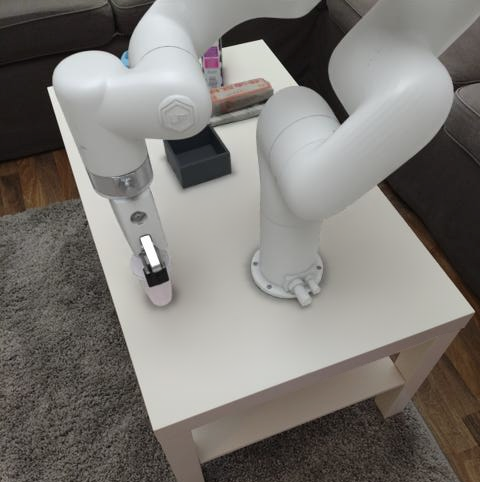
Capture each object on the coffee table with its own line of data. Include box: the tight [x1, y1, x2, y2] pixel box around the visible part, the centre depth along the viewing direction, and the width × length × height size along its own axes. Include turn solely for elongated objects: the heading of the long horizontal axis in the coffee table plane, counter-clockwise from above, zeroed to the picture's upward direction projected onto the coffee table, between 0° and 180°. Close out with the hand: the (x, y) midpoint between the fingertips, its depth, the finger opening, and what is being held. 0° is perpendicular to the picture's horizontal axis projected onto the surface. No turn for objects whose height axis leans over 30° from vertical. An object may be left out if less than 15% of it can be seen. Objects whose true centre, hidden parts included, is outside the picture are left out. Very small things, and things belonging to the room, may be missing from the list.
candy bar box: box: [200, 36, 224, 89], centre depth 103 cm, size 11×5×16 cm, turn 3°
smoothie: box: [129, 247, 173, 307], centre depth 69 cm, size 6×6×14 cm
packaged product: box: [208, 77, 275, 128], centre depth 102 cm, size 18×5×10 cm
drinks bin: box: [162, 124, 232, 190], centre depth 91 cm, size 11×11×5 cm
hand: (149, 261), depth 67 cm, fingers open, 8 cm apart
